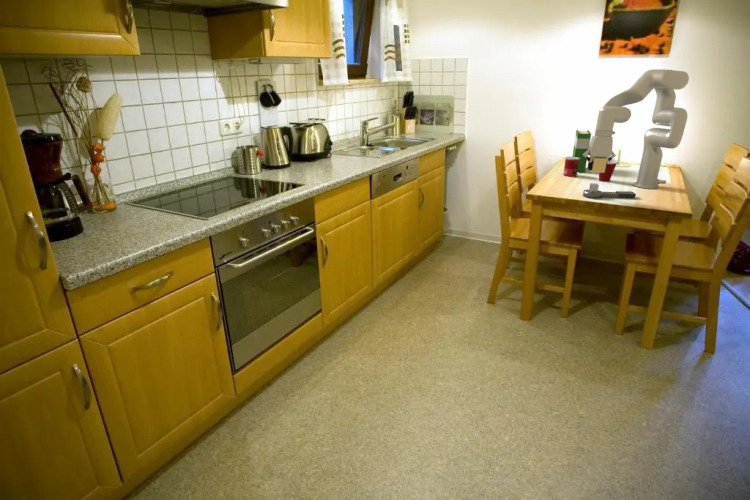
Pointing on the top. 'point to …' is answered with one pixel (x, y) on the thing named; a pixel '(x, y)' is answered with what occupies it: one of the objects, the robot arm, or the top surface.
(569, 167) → the canned food
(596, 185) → the ratchet
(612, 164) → the plastic cup
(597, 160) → the tan wooden block
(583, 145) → the hardback book
